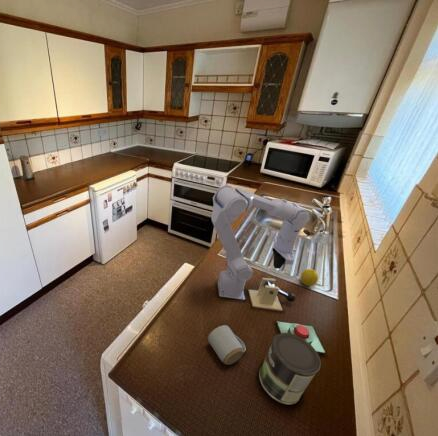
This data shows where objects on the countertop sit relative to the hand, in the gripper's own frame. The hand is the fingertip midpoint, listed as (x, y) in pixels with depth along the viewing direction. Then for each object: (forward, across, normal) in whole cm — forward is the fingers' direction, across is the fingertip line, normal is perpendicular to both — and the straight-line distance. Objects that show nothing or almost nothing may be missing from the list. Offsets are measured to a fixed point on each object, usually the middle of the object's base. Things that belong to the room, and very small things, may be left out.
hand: (276, 267), depth 90 cm
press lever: (+6, -8, +1) cm, 10 cm away
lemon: (+11, +4, -15) cm, 19 cm away
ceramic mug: (+11, -30, +20) cm, 38 cm away
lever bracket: (+10, -8, +4) cm, 14 cm away
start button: (+8, -22, -3) cm, 24 cm away
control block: (+10, -22, -3) cm, 25 cm away
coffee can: (+11, -37, +7) cm, 39 cm away
